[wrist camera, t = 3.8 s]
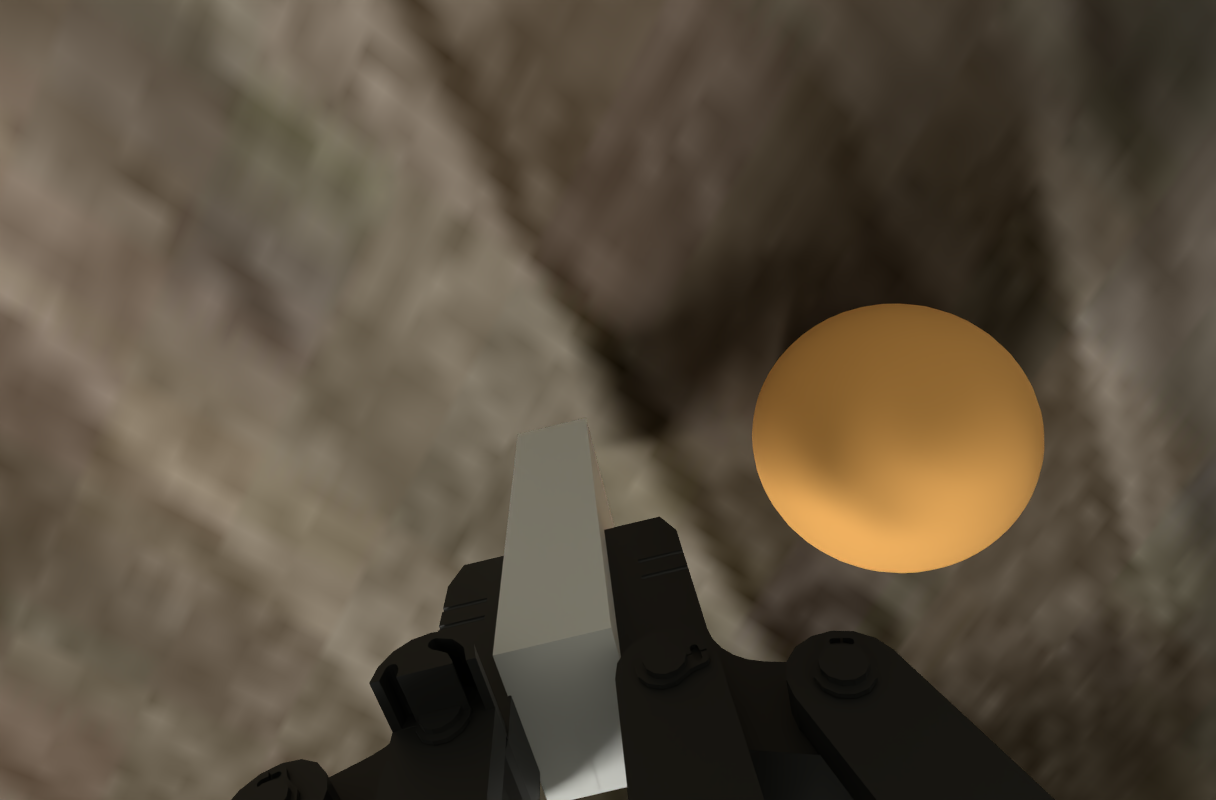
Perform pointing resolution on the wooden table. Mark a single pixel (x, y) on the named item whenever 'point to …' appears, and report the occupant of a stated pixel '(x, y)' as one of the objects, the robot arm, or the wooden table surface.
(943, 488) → the ball
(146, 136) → the wooden table surface
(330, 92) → the wooden table surface
